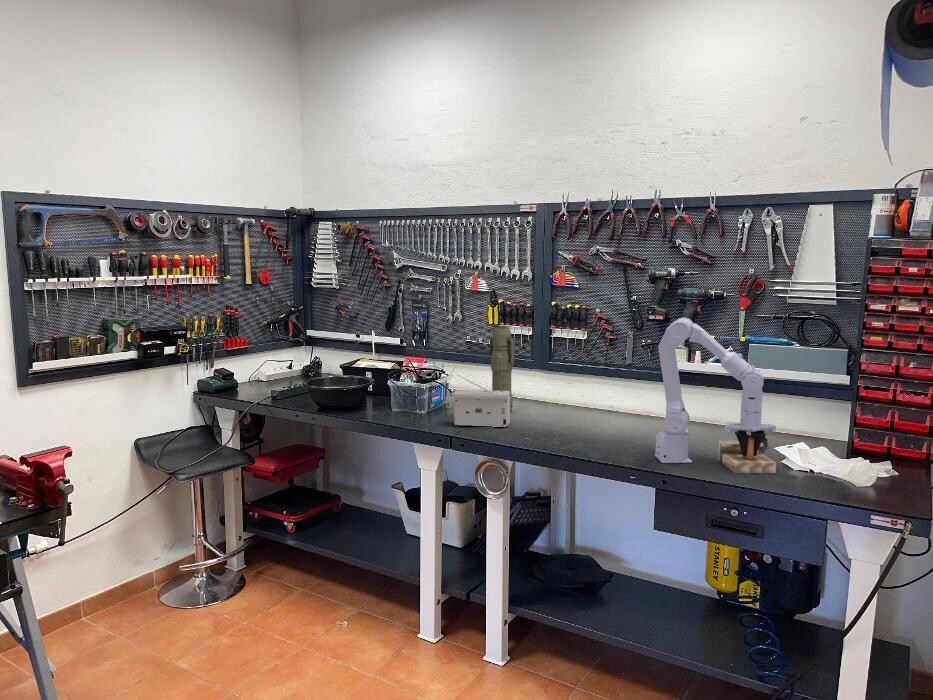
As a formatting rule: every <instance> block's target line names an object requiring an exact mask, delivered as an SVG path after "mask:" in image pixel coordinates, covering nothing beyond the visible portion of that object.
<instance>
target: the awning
mask: <svg viewBox="0 0 933 700" xmlns="http://www.w3.org/2000/svg"><path fill="white" fill-rule="evenodd" d="M760 447H764V444H763V443H761V445H760ZM758 452H759V449H758ZM758 452H757V453H758ZM722 454H741V448H740V444H739V441H738V439H737V440H736V439H735V440H732V439H731V440H718V454H717V455H718V456H717V458H718V459H717V460H718V462H722Z"/></svg>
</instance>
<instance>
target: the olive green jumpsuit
mask: <svg viewBox="0 0 933 700" xmlns="http://www.w3.org/2000/svg"><path fill="white" fill-rule="evenodd" d="M489 361H490V369H491V373H492V374H491V377H492V378H491V381H492V382H491V383H492V384H491V391H509V392H510V411H512V412H513V405H514V404H513V401H514V400H513V396H514V395H513V394H512V371H513V367H514V364H515V341H514V339H513V338H512V332H511V328H510V327H508V326H507V325H497V326H496V327H495V326H494V328H493V331H492V337H491V338H490V339H489Z"/></svg>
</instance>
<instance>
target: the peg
mask: <svg viewBox="0 0 933 700" xmlns="http://www.w3.org/2000/svg"><path fill="white" fill-rule="evenodd" d="M753 456H754V439H751V438H749V439H748V444H747V456H745V460H753Z"/></svg>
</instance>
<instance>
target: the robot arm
mask: <svg viewBox="0 0 933 700" xmlns="http://www.w3.org/2000/svg"><path fill="white" fill-rule="evenodd" d="M687 339H688V341H689V342H690V343H691V342H692V343H698V344H700V345H701V346H703V347H704V348H705V349H706V350H708V351H709V352H710V353H711V354H712V355H714V356H715V357H717V359H718V360H720V367H721V368H723V369H724V370H725V371H726V372H727V373H728V374H729V375H731V376H732V377H733V378H734V379H735V380H737V381H739V382H740V383H741V387H742V393H741V401H740V402H741V403H740V420H739V421H740V423H731V424H724V432H726V433H731V432H732V433H734V434H735V436H736V439H737V440H738V441H739V444H740V448H741V454H742V455H743V456H747V444H748V439H749V435H751V439H754V456H756V455H757V452H758V449H759V447H760V445H761V443H762V441H763V440H764V438H766V436H767V434H766V432H767V433H768V432H771V433H776V431H777V425H775V424H772V423H769V424H768V423H762V413H763V412H762V411H763V387H764V380H765V378H764V375H763V374H762V372H760V370H759V369H757V368H756V367H755V365H750V363H748V362H747V361H746V360H745V359H744V358H743V355H742V354H741V353H740V352H739V353H737V352H735V351H728V350H727V349H725V348H724V347H723V346H722V344H720V343H719V342H718V341H717V340H716V339H715V338H714V337H712V336H711V335H710V334H709V332H707V331H706V330H705V329H704V328H702V326H700V325H698V324H697V323H695V322H693V320H691V319H690V318H688V317H679V318H678V319H676V320H674V321H673V322H671V324H670V325H669V326H668V327H667V328H666V329H665V331H664V334H663V335H662V338H661V339H660V341H659V343H658V353H659V360H660V368H661V375H662V381H663V388H664V394H665V403H666V404H665V405H666V406H665V413H666V414H665V419H664V427H665V428H664V431H658V432H657V433H656V436H655V454H654V457H655V458H657V459H658V461H659V462H661V464H663V463H664V464H679V463H681V464H688V463H689V464H690V463H693V460H692V459H690V458H689V457H688V456H689V439H690V438H689V437H690V431H689V429H688V428H687V425H688V424H689V422H690V414H689V413H688V411H687V409H686V407H685V403H684V400H683V393H682V388H681V381H680V375H679V367H678V360H677V353H676V349H677V348H678V347H679V346H680V345H681V344H682V343H683V342H684V341H685V340H687ZM747 432H748V433H750V434H748V433H747Z"/></svg>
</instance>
